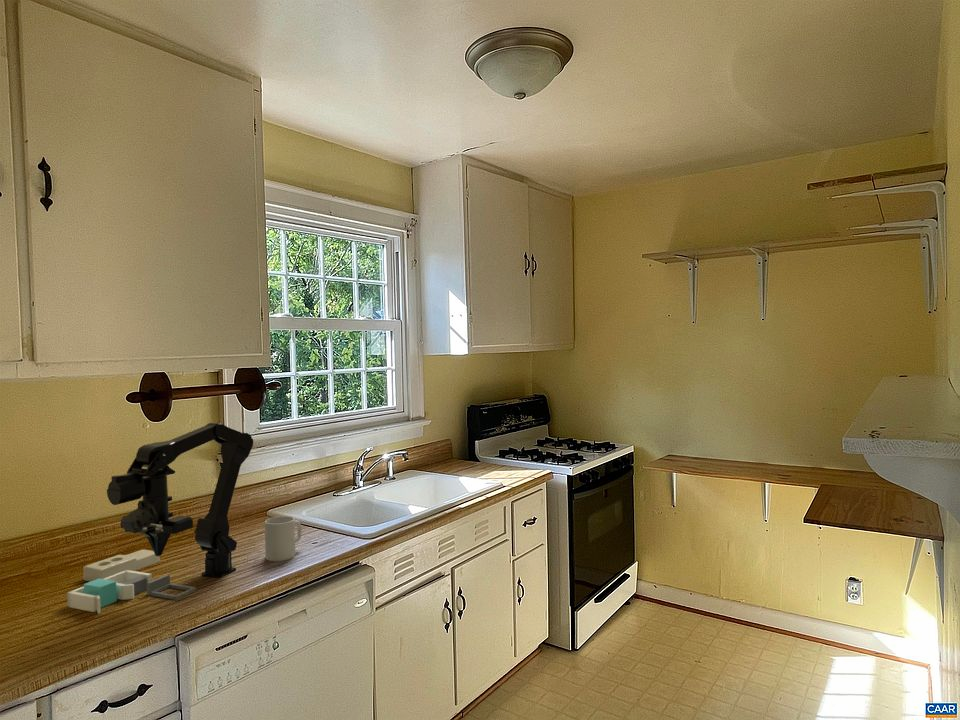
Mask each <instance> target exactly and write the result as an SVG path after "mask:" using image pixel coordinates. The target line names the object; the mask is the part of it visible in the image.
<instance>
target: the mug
mask: <svg viewBox="0 0 960 720" xmlns="http://www.w3.org/2000/svg"><path fill="white" fill-rule="evenodd" d="M295 527H296V528H297V534H296V531H295V530H296V528H295ZM302 534H303V531H302V524H301V522H300V521H299V520H297V519H296V520H295V518H294V517H293V516H287V515H285V516H284V515H282V516H281V515H279V516H274V517H270V518H268V519H265V521H264V540H265V542H264V543H265V544H264V545H265V548H264V549H265V550H264V551H265V553H264V555H265V556H264V557H265V559H266V560H267V561H270V562H283V561H288V560H290V559H293V558H294V557H295V556H296V543H299V541H300V540H301V538H302Z"/></svg>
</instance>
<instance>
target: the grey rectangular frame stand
mask: <svg viewBox="0 0 960 720" xmlns="http://www.w3.org/2000/svg"><path fill="white" fill-rule="evenodd" d="M146 584H147V588H146V595H147V596H152V597H158V598H164V599H170V600H175V601H177V600H179V599H181V598H183V597H185V596H188V595H190V594H192V593H194V592H196V591H197V586H196V587H195V586H190V585H183V584H177V583H173V582H172V583H171V575H170V574H165V575H162V576H160V577H158V578H155V579H152V581H150V582H148V583H146ZM168 589H177V590H184V591H181V592H180V593H178V594H173V593H172V594H170V593H167V592H166V593H165V592H163V591H165V590H168Z"/></svg>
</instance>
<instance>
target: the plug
mask: <svg viewBox="0 0 960 720" xmlns="http://www.w3.org/2000/svg"><path fill="white" fill-rule="evenodd" d="M83 586H84V593H85V594H90V595H95V596H98V595H99V596H100V602H101V608H104V607H107V606H109V605H111V604H113V603H116V602H117V600H118V599H117V595H116V581H111V580H105V579H96V580H94V581H87V582H86V583H84V584H83Z"/></svg>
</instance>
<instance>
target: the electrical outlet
mask: <svg viewBox="0 0 960 720" xmlns="http://www.w3.org/2000/svg"><path fill="white" fill-rule="evenodd" d="M158 563H161V556H155V553H154V551H153V550H149V549H140V550H136V551H134V552H131V553H128V554H117V555H114V556H112V557H108V558H104V559H103V560H99V561H96V562H92V563H90V564H87V565H84V566H83V581H87V582H91V581H94V580H96V579H104V578H107V577H109V576H112V575H115V574H117V573H120V572H122V571H125V570H131V571H139V570H142V569H144V568H146V567H148V566H149V567H150V566H151V565H154V564H158Z"/></svg>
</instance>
